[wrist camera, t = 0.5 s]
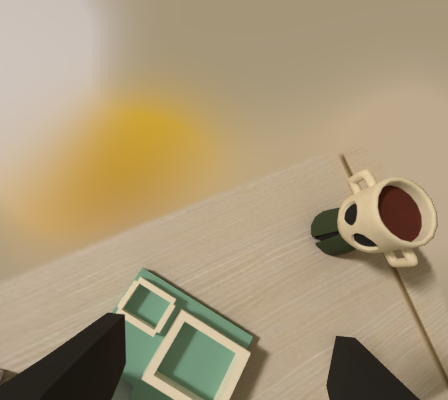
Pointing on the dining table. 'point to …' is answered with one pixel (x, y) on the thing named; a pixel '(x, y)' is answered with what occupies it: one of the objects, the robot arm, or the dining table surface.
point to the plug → (122, 391)
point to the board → (178, 345)
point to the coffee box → (1, 374)
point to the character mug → (379, 220)
